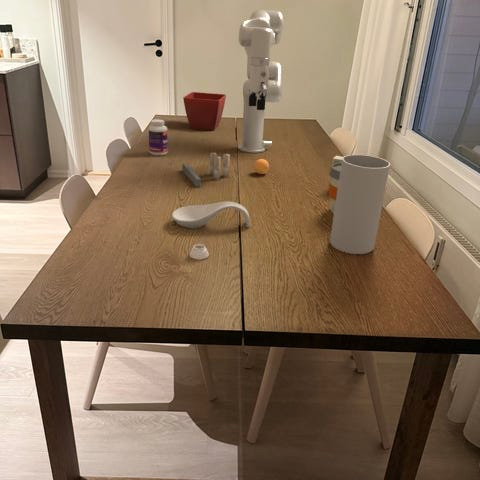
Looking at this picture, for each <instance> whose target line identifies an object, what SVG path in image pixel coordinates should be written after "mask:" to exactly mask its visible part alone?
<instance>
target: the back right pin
mask: <svg viewBox="0 0 480 480" xmlns="http://www.w3.org/2000/svg"><path fill="white" fill-rule="evenodd" d="M209 154H210V155H209V159H210V160H209V176H213V177H214V157H215V156H217V153H216V152H210V153H209Z"/></svg>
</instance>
